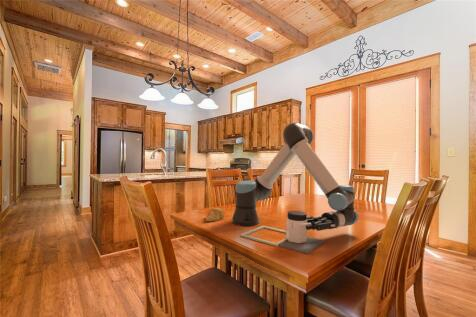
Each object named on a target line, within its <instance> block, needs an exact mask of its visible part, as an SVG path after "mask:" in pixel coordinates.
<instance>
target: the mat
mask: <svg viewBox="0 0 476 317" xmlns="http://www.w3.org/2000/svg"><path fill="white" fill-rule="evenodd" d="M324 242H325V240H323V239H320V238H315V237H310V236H307V240H306V242H303V243H294V242H289V241H286V242H284V243H283V244H281V245H279V247H280V248H283V249H288V250H291V251H295V252H298V253H302V254H306V255H310V253H312V252H313V251H314V250H316V249H317V248H318V247H319V246H320V245H322V244H323V243H324Z"/></svg>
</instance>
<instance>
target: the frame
mask: <svg viewBox="0 0 476 317" xmlns="http://www.w3.org/2000/svg"><path fill="white" fill-rule="evenodd" d="M263 229H267V230H271V231H274V232H275V231H276V232H278V233H279V232H280V233H284V234H286V230H284V229H280V228H275V227H271V226H267V225H261V226H259V227H256V228H254V229H251V230H249V231H245V232H243V233H241V234H240V237H242V238H245V239H249V240H253V241H256V242H260V243H263V244H266V245H270V246H275V247H276V248H277V247H280V245H281V244H283V243H285V242H287V241H288V240H287V238H286V237H284V238H283V239H281V240H279V241H278V242H273V241H270V240H266V239H262V238H258V237H255V236H252V235H251V234H253V233H256V232H257V231H260V230H263ZM250 235H251V236H250Z"/></svg>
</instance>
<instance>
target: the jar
mask: <svg viewBox="0 0 476 317" xmlns="http://www.w3.org/2000/svg"><path fill="white" fill-rule="evenodd" d="M307 217H308V216H307V212H305V211H302V210H288V211H287V217H286V228H285V229H286V230H285V231H286V233H285V238H287V240H288V241H289V242H294V243H303V242H306V240H307V237H308V236H307V235H308V234H307V233H308V230H306V231H301V232H299V224H305V223H307V220H306V218H307ZM291 222H293V229H291Z"/></svg>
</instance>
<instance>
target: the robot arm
mask: <svg viewBox="0 0 476 317" xmlns="http://www.w3.org/2000/svg"><path fill="white" fill-rule="evenodd" d="M282 139H283V146H282V147H281V148H280V149H279V151H278V152H277V154H276V155H275V156H274V158H273V159H272V160H271V162H270V163H269V164H268V166H267V167H266V168H265V170H264V171H263V172H262V174H261V175H257V176H256V178H254V179H253V180H250V179H249V180H248V179H247V180H241V181H237V183H236V184H235V209H234V211H233V216H232V218H231V220H232V224H233V225H237V226H244V227H249V226H256V225H258V224H259V223H260V222H259V221H260V219H259V218H260V217H259V215H258V212H257V202H259V201H264V200H266V199H268V198H269V197H270V196H271V194H272V190H273V189H274V183H275V182H276V181H277V179H278V178H279V177H280V175H281V174H282V173H283V172H284V170H286V168H287V167H288V165H289V164H290V163H291V161H292V160H293V159H294V157H295V156H297V158H298V160H300V162H301V164H302V165H303V166H304V167H305V170H307V171H308V173H309V174H310V176H311V177H312V179H313V180H314V182H315V183H316V185H318V187H319V188H320V190H321V192H322V193H323V194H324V195H325V197H326V198H327V204H328V207H329V208H331V211H329V212H327V211H326V212H323V213H322V214H321V216H317V217H314V215H310V216H307V218H306V220H307V223H305V224H299V232H301V231H306V230H307V231H310V230H312V231H313V230H314V231H315V230H316V231H317V232H319V231H324V230H325V231H326V230H334V229H338V228H340V227H341V228H342V227H347V226H352V225H355V224H357V223H358V221H359V214H358V212H357V211H356V210H355V188H354V186H352V185H347V184H343V185H342V184H339V183H338V182H337V180H336V179H335V178H334V177H333V175H332V174H331V172H330V171H329V169H327V167H326V166H325V164H324V163H323V161H322V160H321V159H320V157H319V156H318V155H317V153H316V152H315V151H314V149H313V148H312V147H311V144H312V143H313V141H314V132H313V130H312V129H311V128H310V127H308V126H307V125H304V124H301V123H299V122H292V123H291V122H290V123H289V124H287V125H286V126H284V128H283V132H282ZM332 210H333V211H332ZM291 229H293V222H291Z"/></svg>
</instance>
